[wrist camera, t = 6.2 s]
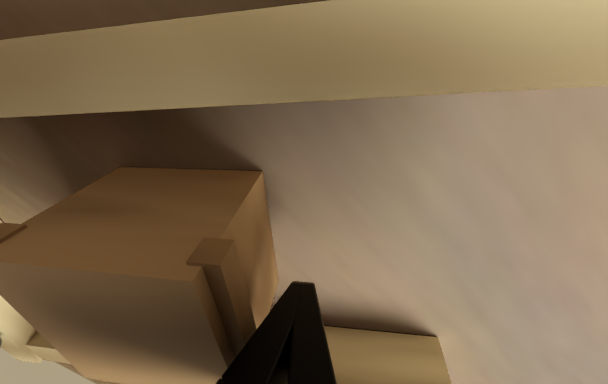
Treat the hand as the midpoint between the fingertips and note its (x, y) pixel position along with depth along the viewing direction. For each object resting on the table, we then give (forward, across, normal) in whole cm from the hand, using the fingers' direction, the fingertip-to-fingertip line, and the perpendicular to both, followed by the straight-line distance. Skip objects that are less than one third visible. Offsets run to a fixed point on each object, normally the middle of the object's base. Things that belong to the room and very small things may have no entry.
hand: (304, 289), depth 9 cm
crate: (+2, +5, 0) cm, 5 cm away
